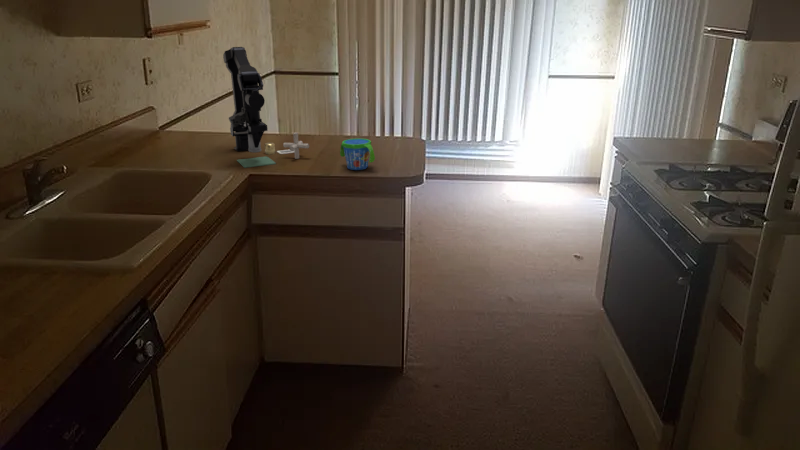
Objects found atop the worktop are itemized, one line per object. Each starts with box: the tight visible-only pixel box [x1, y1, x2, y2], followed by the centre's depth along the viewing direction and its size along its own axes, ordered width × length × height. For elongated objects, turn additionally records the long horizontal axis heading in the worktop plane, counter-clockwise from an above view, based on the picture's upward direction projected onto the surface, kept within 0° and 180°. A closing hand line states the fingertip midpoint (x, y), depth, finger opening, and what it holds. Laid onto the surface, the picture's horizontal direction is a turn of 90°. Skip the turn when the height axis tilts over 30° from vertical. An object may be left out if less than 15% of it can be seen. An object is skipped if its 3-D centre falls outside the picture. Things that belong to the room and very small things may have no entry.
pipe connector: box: [283, 132, 310, 160], centre depth 242 cm, size 10×10×10 cm
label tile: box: [276, 149, 294, 155], centre depth 254 cm, size 5×8×1 cm, turn 117°
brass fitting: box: [264, 142, 276, 156], centre depth 251 cm, size 4×4×4 cm
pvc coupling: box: [247, 134, 262, 154], centre depth 235 cm, size 5×5×6 cm
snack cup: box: [339, 137, 376, 171], centre depth 228 cm, size 16×10×10 cm
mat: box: [236, 156, 277, 169], centre depth 238 cm, size 12×12×1 cm
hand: (254, 146), depth 236 cm, fingers closed on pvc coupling, 4 cm apart
